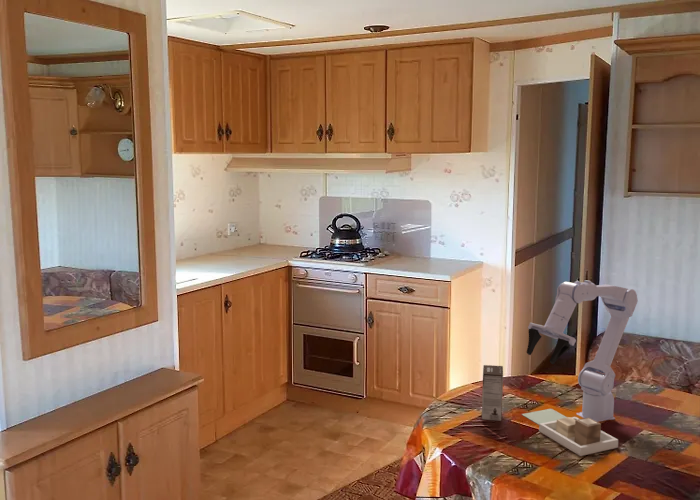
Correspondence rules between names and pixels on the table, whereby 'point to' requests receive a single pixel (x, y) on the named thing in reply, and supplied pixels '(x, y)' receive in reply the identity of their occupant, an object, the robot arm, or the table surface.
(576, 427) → the labelled box
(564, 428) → the plain box
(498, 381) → the coffee box
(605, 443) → the bin
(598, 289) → the robot arm
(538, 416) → the tile
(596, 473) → the table surface
